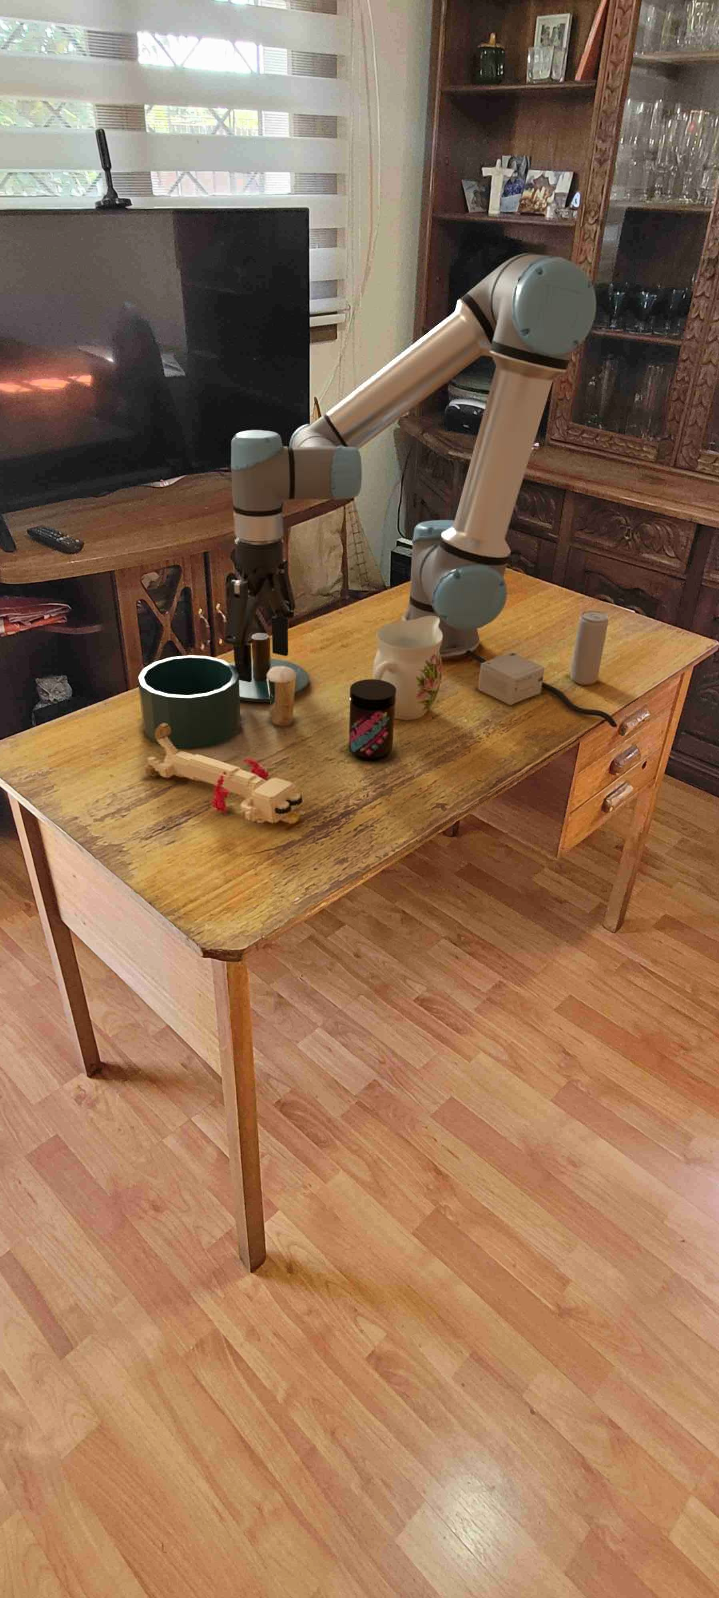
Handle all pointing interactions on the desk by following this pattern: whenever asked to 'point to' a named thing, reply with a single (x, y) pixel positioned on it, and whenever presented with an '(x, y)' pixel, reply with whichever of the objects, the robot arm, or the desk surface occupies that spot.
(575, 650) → the beverage can
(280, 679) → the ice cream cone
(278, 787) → the blocky axolotl figure
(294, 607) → the robot arm
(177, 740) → the tin
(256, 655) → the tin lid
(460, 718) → the desk surface
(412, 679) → the pitcher
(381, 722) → the supplement container
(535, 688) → the small box
